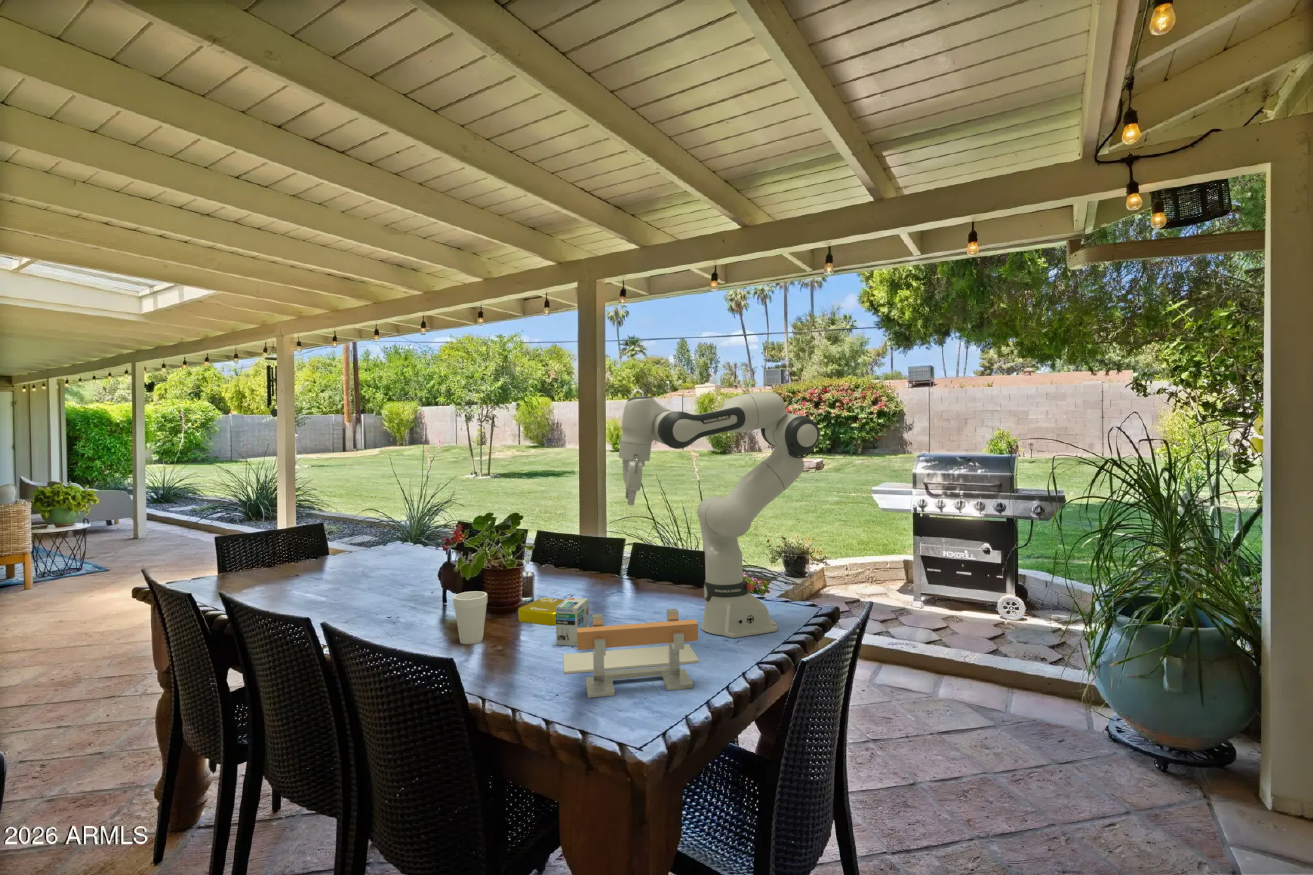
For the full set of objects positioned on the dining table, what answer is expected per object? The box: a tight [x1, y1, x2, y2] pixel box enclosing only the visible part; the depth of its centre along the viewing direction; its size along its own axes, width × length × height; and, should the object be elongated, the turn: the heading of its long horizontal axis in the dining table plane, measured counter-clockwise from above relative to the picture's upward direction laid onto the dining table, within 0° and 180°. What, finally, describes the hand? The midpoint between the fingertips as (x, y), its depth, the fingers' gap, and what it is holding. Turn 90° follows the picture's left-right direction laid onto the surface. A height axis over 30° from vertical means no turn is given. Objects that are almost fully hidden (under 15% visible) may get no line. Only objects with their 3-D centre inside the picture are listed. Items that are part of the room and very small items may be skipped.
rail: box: [576, 619, 699, 651], centre depth 141 cm, size 28×3×4 cm, turn 100°
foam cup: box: [452, 590, 488, 645], centre depth 176 cm, size 10×9×13 cm
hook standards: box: [585, 608, 694, 699], centre depth 142 cm, size 24×9×16 cm, turn 100°
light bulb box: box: [555, 597, 590, 647], centre depth 175 cm, size 11×7×11 cm, turn 168°
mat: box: [562, 644, 700, 675], centre depth 158 cm, size 34×12×1 cm, turn 100°
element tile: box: [517, 597, 565, 627], centre depth 197 cm, size 15×15×5 cm
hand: (629, 501), depth 172 cm, fingers open, 8 cm apart
